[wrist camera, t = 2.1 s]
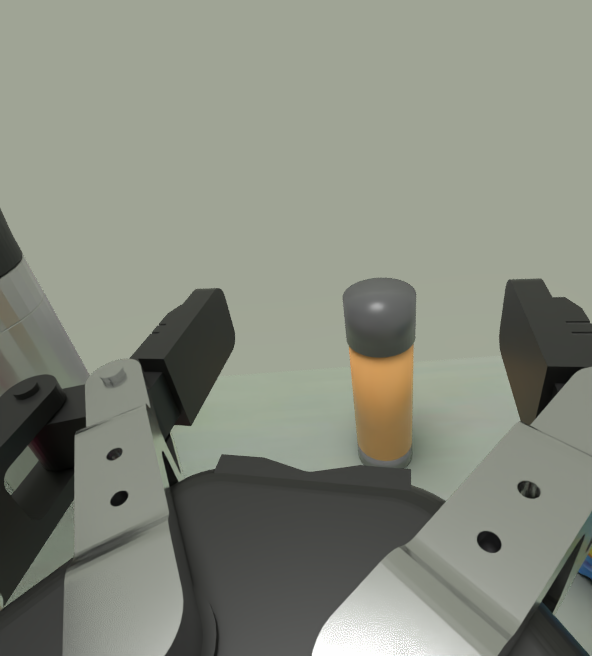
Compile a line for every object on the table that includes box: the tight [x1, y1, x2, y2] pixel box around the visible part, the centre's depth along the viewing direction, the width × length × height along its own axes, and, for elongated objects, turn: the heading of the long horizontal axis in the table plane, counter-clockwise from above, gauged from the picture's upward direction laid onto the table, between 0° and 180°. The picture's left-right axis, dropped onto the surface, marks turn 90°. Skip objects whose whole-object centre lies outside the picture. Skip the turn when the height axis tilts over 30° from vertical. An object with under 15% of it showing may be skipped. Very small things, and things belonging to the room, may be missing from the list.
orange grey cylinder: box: [343, 278, 416, 469], centre depth 28 cm, size 4×4×14 cm
